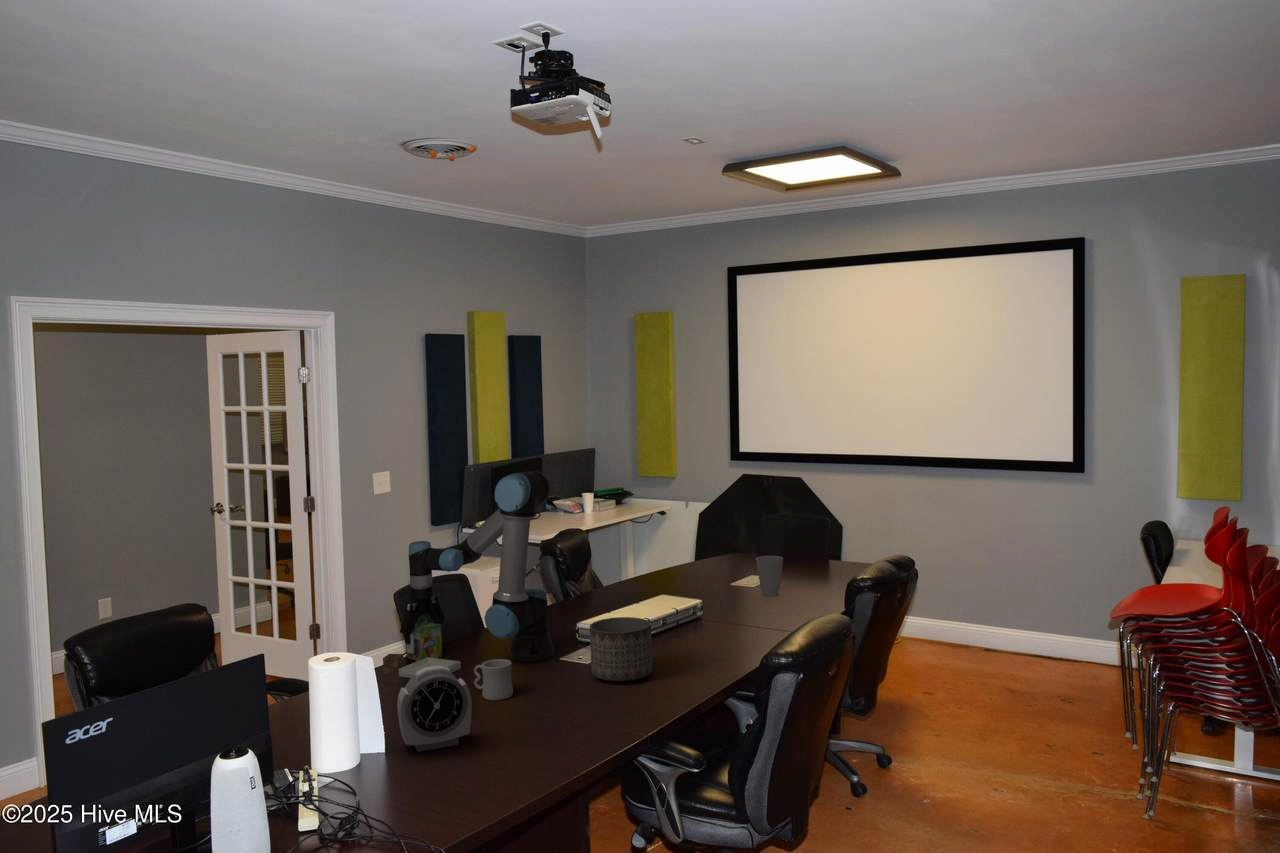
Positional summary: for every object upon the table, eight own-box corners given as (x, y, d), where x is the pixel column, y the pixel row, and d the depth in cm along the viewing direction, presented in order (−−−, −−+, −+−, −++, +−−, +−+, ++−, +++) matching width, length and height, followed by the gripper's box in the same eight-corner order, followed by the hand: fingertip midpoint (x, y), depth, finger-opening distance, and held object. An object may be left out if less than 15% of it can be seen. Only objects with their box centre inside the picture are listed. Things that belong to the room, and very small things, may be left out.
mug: (518, 692, 278) (517, 659, 277) (504, 702, 269) (503, 668, 269) (482, 689, 282) (480, 657, 281) (467, 699, 273) (465, 666, 273)
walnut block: (404, 668, 307) (403, 653, 307) (397, 673, 302) (397, 658, 302) (389, 668, 307) (389, 653, 307) (383, 673, 303) (382, 658, 302)
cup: (756, 597, 391) (754, 560, 391) (757, 591, 403) (756, 555, 402) (784, 597, 389) (783, 560, 389) (784, 591, 401) (783, 555, 400)
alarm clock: (403, 757, 231) (399, 677, 230) (398, 745, 238) (394, 668, 238) (474, 743, 238) (471, 666, 237) (467, 733, 245) (463, 658, 245)
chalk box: (423, 663, 311) (421, 620, 311) (405, 659, 317) (403, 617, 316) (443, 656, 319) (441, 614, 318) (426, 653, 324) (424, 611, 324)
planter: (662, 670, 294) (660, 619, 294) (637, 688, 277) (635, 634, 276) (608, 664, 303) (606, 615, 302) (580, 682, 285) (578, 629, 284)
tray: (460, 668, 304) (460, 661, 304) (432, 681, 292) (432, 673, 292) (428, 664, 311) (427, 657, 310) (399, 676, 298) (398, 668, 298)
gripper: (437, 578, 330) (439, 637, 330) (387, 593, 308) (390, 656, 309) (453, 580, 326) (456, 639, 327) (404, 594, 304) (407, 658, 305)
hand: (424, 647), depth 318 cm, fingers open, 13 cm apart
